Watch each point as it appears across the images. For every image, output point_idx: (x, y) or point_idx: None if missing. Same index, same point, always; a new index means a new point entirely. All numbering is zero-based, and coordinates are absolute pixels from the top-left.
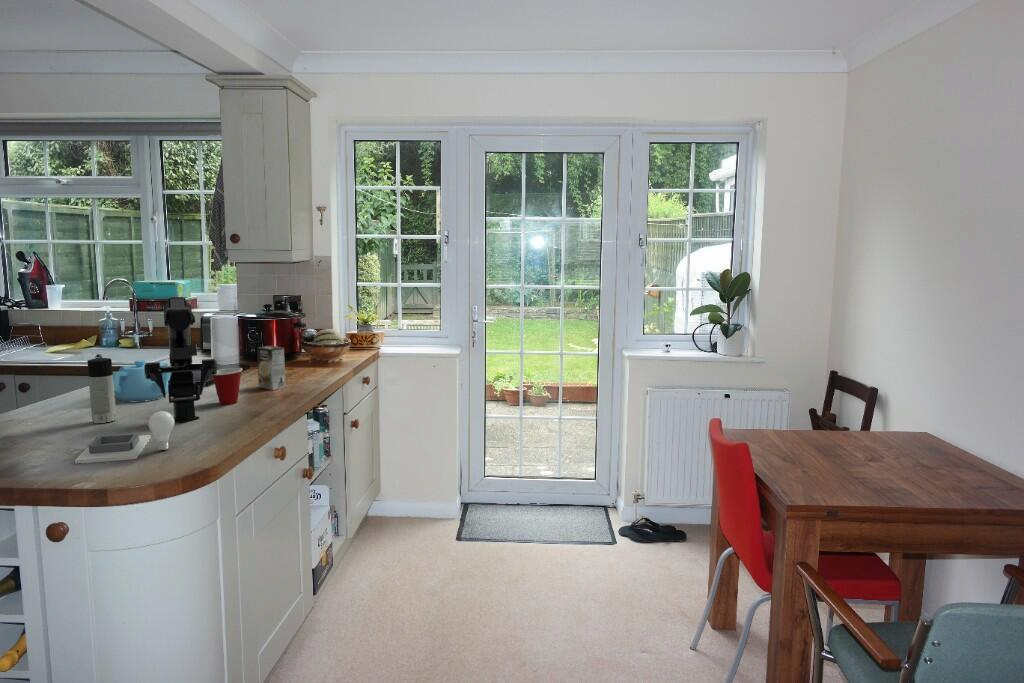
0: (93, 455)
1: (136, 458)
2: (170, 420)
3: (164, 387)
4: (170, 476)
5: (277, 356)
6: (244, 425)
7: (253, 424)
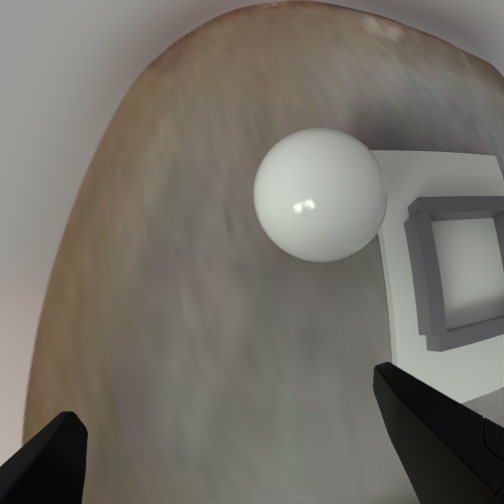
0: (480, 184)
1: None
2: (264, 157)
3: (423, 421)
4: (221, 31)
5: None
6: (86, 496)
7: None
